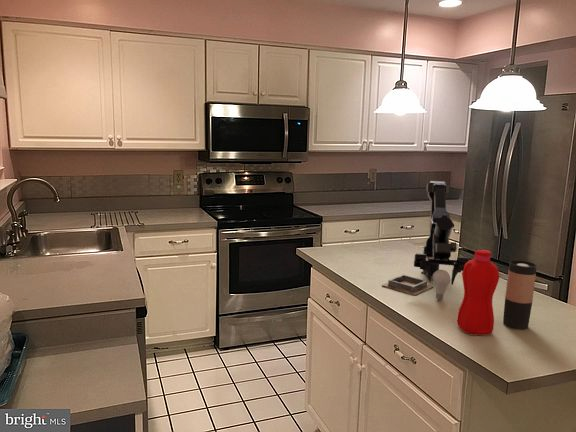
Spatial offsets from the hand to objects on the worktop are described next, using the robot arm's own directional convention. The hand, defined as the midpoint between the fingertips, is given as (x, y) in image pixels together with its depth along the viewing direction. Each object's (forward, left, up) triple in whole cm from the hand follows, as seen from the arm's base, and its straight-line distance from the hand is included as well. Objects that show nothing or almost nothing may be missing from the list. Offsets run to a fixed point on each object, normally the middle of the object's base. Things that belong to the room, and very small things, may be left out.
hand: (441, 283), depth 168 cm
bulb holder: (-5, -16, -7) cm, 18 cm away
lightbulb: (-1, -1, -7) cm, 7 cm away
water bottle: (+15, +18, -7) cm, 25 cm away
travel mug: (+2, +26, -7) cm, 27 cm away
